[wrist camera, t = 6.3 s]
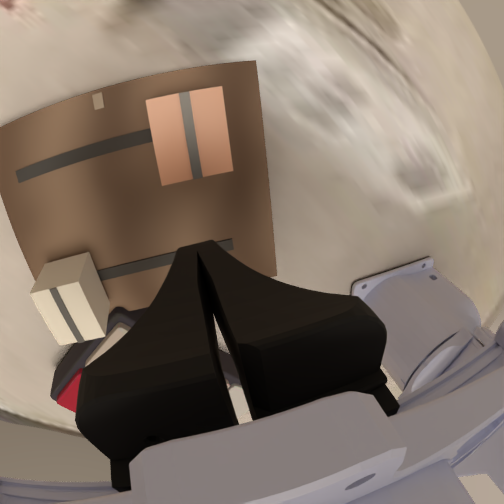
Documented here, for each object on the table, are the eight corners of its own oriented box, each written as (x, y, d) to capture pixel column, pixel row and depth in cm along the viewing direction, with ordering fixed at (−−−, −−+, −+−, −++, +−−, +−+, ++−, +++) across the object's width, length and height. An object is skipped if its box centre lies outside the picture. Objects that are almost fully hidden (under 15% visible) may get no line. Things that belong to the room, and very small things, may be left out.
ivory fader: (88, 251, 16) (78, 282, 13) (110, 303, 17) (105, 338, 15) (45, 263, 15) (29, 295, 12) (68, 312, 17) (59, 346, 14)
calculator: (116, 318, 17) (274, 400, 24) (120, 281, 20) (258, 366, 28) (47, 405, 18) (192, 458, 25) (54, 367, 21) (184, 426, 29)
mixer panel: (245, 63, 15) (256, 60, 14) (267, 260, 22) (277, 276, 20) (0, 130, 13) (-17, 135, 11) (65, 308, 19) (59, 327, 18)
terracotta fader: (210, 87, 14) (222, 85, 11) (220, 157, 15) (233, 171, 13) (148, 99, 13) (145, 100, 10) (161, 169, 15) (162, 186, 12)
